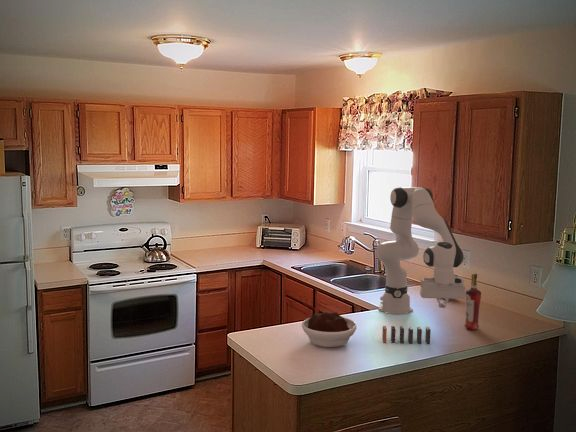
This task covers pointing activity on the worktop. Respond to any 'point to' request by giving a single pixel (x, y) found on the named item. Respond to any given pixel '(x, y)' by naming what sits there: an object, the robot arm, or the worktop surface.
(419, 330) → the domino
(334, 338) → the bowl of chocolate
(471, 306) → the liquor
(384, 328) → the domino
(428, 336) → the domino
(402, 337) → the domino
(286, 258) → the worktop surface
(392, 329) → the domino
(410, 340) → the domino
